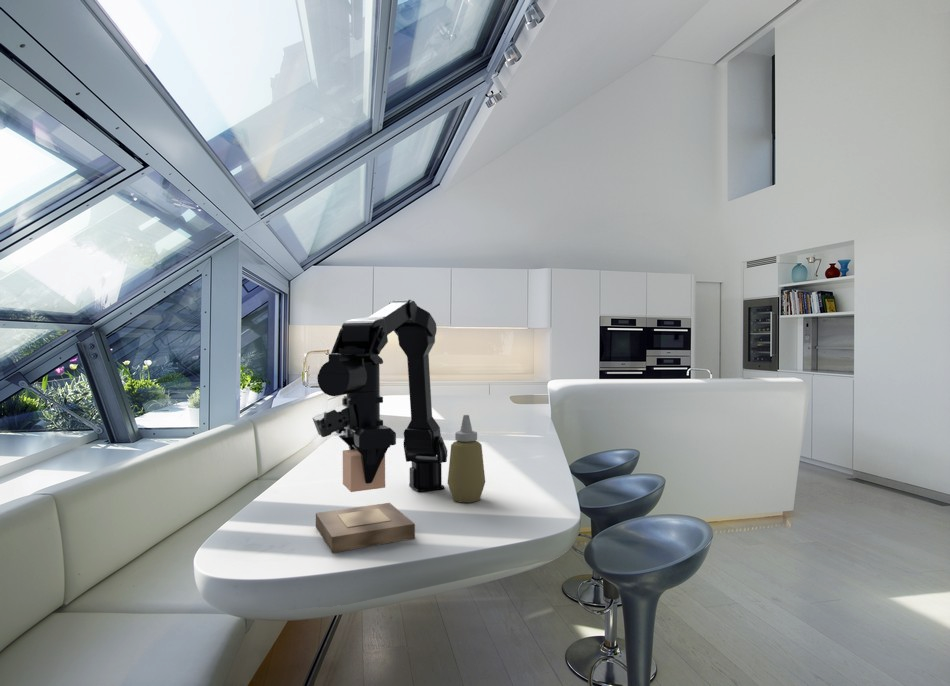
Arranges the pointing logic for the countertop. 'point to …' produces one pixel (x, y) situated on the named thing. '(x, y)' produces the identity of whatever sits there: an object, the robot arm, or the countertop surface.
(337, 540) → the base board
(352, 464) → the cube
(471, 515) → the countertop surface
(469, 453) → the squeeze bottle
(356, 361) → the robot arm
